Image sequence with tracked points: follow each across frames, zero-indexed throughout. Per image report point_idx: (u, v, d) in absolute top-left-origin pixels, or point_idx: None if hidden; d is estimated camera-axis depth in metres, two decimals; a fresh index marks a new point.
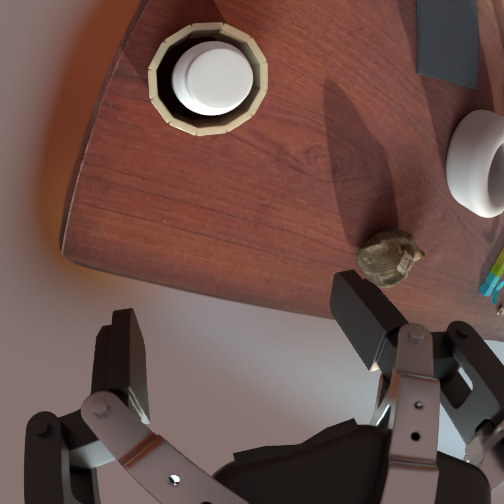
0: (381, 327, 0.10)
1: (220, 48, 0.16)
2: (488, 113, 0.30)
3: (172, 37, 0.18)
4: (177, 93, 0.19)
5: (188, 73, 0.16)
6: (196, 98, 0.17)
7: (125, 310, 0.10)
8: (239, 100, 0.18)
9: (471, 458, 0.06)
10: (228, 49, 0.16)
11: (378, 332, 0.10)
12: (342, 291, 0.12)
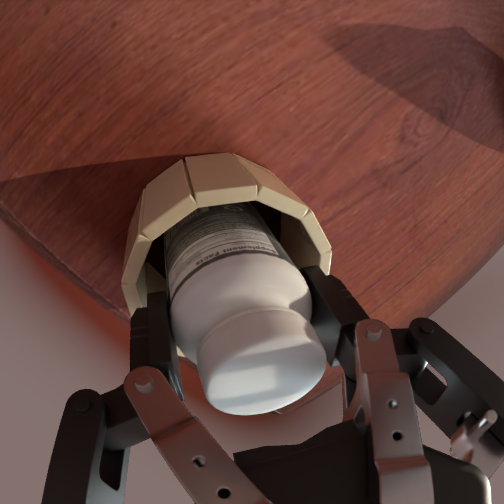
0: (338, 322, 0.10)
1: (212, 374, 0.08)
2: None
3: None
4: None
5: (229, 412, 0.10)
6: (274, 409, 0.10)
7: (159, 292, 0.11)
8: (323, 364, 0.09)
9: (458, 452, 0.06)
10: (222, 365, 0.08)
11: (336, 327, 0.10)
12: None
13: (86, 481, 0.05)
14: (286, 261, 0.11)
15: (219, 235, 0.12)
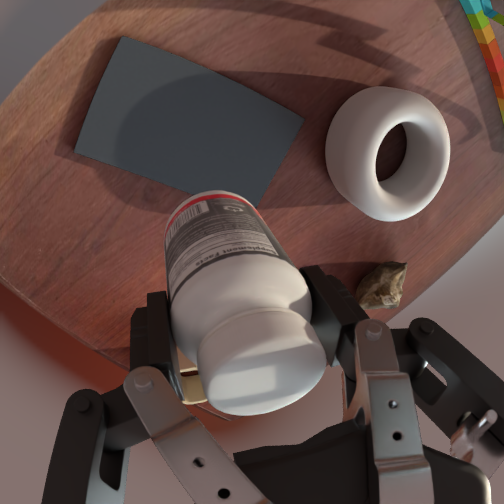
0: (338, 322, 0.10)
1: (212, 374, 0.08)
2: (337, 138, 0.30)
3: None
4: None
5: (229, 412, 0.10)
6: None
7: (159, 292, 0.11)
8: (323, 365, 0.09)
9: (459, 452, 0.06)
10: (222, 365, 0.08)
11: (336, 327, 0.10)
12: None
13: (86, 481, 0.05)
14: (286, 262, 0.11)
15: (219, 236, 0.12)
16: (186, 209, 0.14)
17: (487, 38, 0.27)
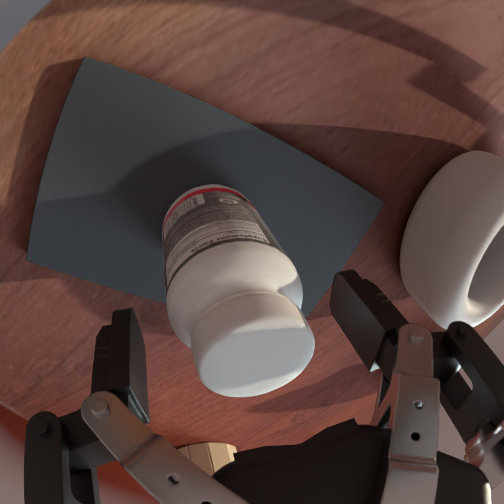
0: (381, 327, 0.10)
1: (205, 352, 0.09)
2: (427, 236, 0.19)
3: None
4: None
5: (221, 393, 0.10)
6: (265, 392, 0.11)
7: (125, 310, 0.10)
8: (311, 347, 0.10)
9: (471, 458, 0.06)
10: (214, 343, 0.09)
11: (378, 332, 0.10)
12: (342, 291, 0.12)
13: (62, 503, 0.04)
14: (277, 249, 0.12)
15: (214, 225, 0.12)
16: (183, 202, 0.15)
17: None
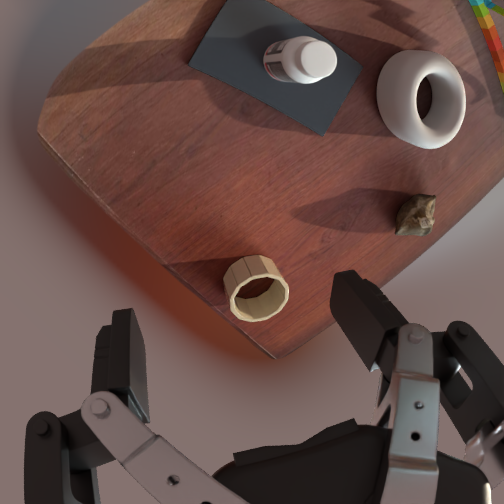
0: (381, 327, 0.10)
1: (303, 48, 0.25)
2: (387, 80, 0.35)
3: (231, 307, 0.46)
4: (303, 82, 0.29)
5: (306, 71, 0.26)
6: (321, 77, 0.27)
7: (125, 310, 0.10)
8: (335, 58, 0.26)
9: (471, 458, 0.06)
10: (306, 45, 0.25)
11: (378, 332, 0.10)
12: (342, 291, 0.12)
13: (61, 503, 0.04)
14: None
15: None
16: (277, 42, 0.31)
17: (488, 24, 0.33)
